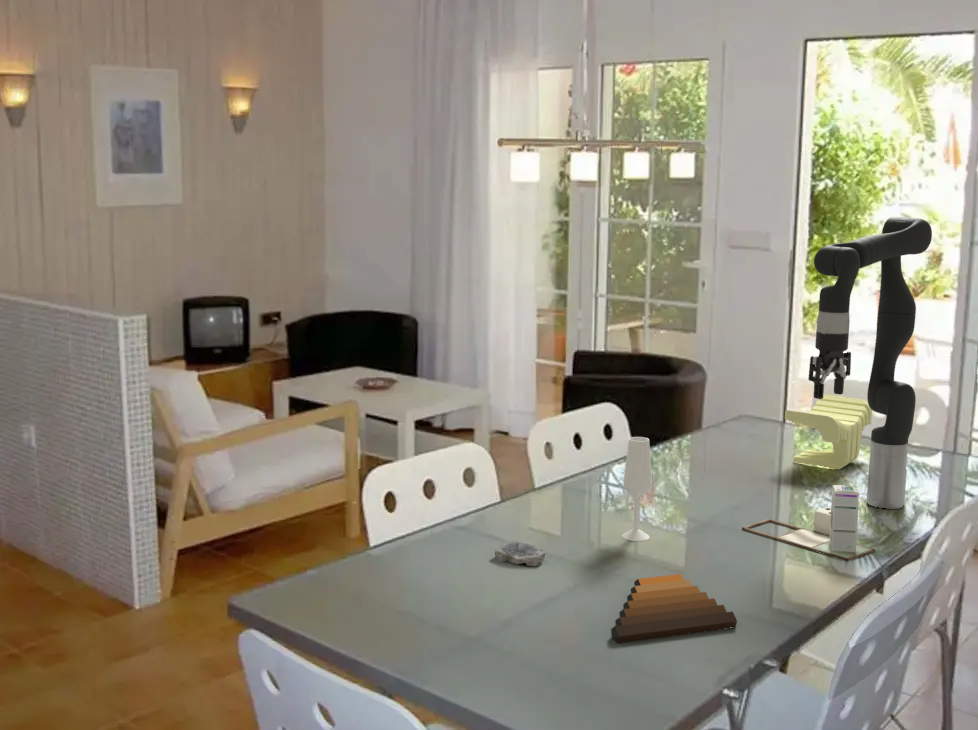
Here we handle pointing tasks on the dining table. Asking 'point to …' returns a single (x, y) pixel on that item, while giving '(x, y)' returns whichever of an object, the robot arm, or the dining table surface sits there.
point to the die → (822, 520)
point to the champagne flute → (637, 480)
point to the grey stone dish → (520, 553)
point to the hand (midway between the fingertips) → (828, 396)
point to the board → (811, 541)
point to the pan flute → (668, 610)
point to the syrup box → (844, 518)
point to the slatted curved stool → (834, 429)
